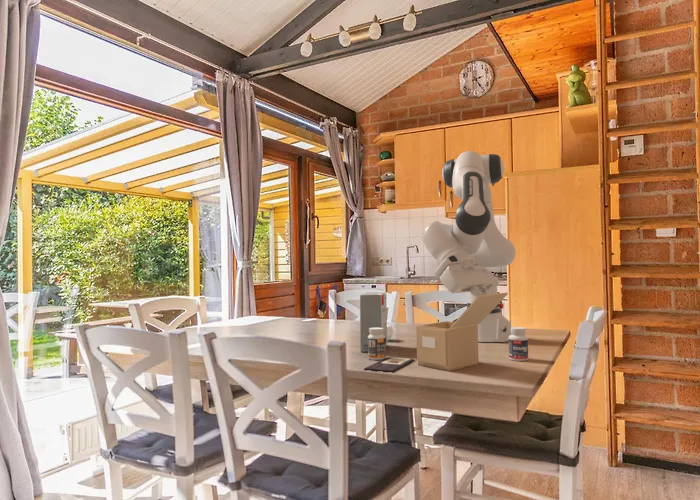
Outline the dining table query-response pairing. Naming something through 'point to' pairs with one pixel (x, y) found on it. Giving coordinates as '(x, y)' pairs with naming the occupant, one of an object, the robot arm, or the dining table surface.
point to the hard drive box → (372, 316)
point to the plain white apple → (389, 332)
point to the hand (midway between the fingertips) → (486, 300)
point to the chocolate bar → (389, 364)
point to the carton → (447, 346)
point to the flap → (479, 310)
